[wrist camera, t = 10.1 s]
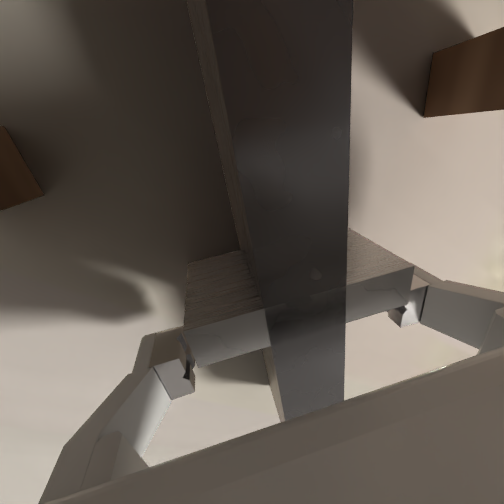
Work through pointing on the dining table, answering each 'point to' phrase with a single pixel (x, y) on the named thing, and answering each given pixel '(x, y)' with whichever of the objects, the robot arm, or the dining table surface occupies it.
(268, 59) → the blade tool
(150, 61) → the dining table surface
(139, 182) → the dining table surface
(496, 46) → the low table
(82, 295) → the dining table surface
